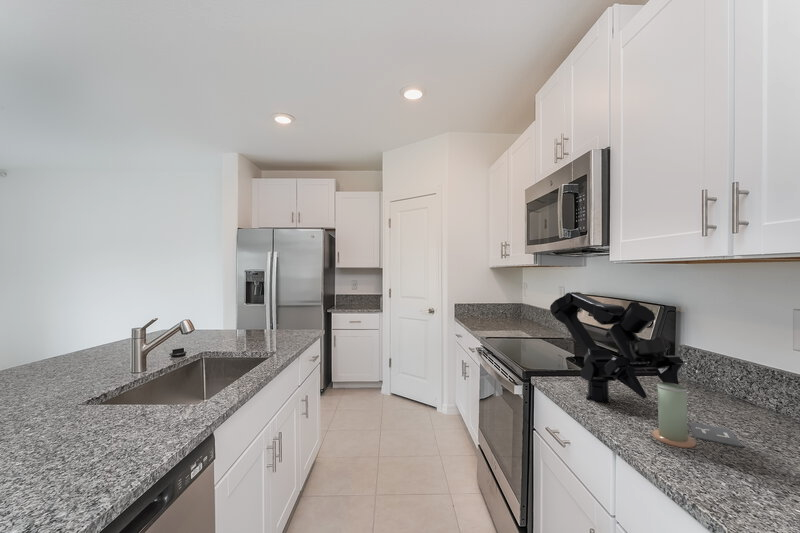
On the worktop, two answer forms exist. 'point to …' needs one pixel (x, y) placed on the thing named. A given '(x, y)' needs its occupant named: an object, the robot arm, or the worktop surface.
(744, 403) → the worktop surface
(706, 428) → the tile
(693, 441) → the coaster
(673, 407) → the green tumbler
